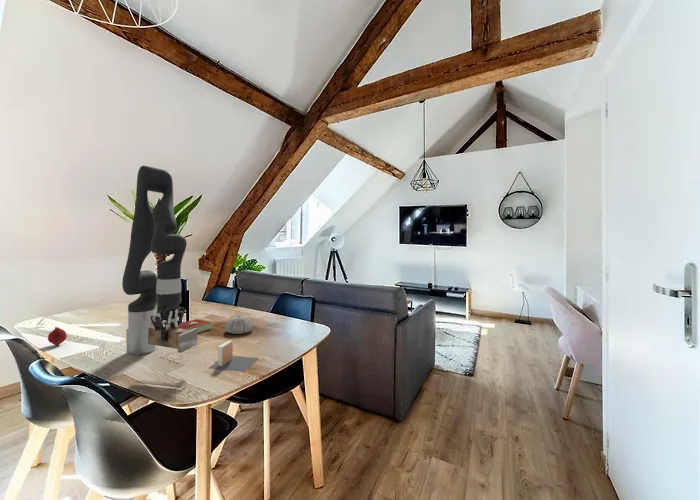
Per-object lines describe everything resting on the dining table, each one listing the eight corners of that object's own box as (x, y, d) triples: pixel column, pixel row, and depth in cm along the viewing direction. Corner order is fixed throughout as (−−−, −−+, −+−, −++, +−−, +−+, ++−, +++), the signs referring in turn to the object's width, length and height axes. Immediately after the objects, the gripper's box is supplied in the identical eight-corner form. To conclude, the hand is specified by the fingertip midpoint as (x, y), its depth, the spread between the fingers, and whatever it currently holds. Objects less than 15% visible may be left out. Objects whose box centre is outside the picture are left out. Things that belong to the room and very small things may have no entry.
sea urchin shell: (243, 326, 161) (243, 311, 161) (258, 331, 152) (258, 315, 152) (219, 331, 151) (219, 316, 150) (233, 337, 142) (233, 321, 142)
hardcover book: (157, 337, 142) (156, 328, 142) (196, 325, 161) (196, 318, 161) (173, 341, 137) (173, 332, 137) (212, 329, 156) (212, 321, 155)
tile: (217, 365, 110) (217, 346, 110) (228, 358, 117) (228, 340, 117) (222, 366, 110) (222, 347, 110) (232, 358, 117) (232, 340, 117)
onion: (66, 341, 133) (66, 324, 133) (67, 345, 129) (66, 326, 128) (48, 345, 129) (47, 326, 129) (47, 348, 125) (47, 329, 124)
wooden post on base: (141, 346, 103) (142, 329, 103) (160, 338, 111) (161, 323, 111) (180, 352, 100) (181, 335, 100) (197, 344, 108) (197, 328, 108)
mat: (208, 369, 108) (208, 368, 108) (227, 356, 120) (227, 355, 120) (244, 372, 106) (244, 371, 106) (259, 359, 118) (259, 358, 118)
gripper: (174, 287, 112) (174, 332, 113) (142, 294, 99) (142, 345, 99) (192, 288, 111) (192, 334, 112) (162, 295, 97) (162, 347, 98)
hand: (168, 339), depth 106 cm, fingers closed on wooden post on base, 3 cm apart
